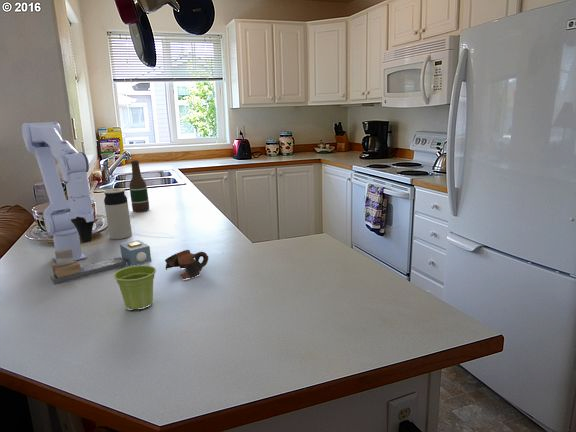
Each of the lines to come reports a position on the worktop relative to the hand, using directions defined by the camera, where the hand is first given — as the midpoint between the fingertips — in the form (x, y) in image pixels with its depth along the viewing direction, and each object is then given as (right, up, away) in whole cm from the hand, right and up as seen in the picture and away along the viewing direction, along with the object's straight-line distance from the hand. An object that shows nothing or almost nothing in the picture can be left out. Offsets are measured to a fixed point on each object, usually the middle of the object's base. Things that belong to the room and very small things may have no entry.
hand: (86, 241), depth 123 cm
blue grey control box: (+11, -7, +11) cm, 16 cm away
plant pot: (+23, -14, -21) cm, 34 cm away
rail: (0, -9, +2) cm, 9 cm away
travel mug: (-5, -1, +38) cm, 38 cm away
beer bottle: (-12, +10, +80) cm, 82 cm away
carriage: (-5, -9, -2) cm, 10 cm away
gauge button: (+11, -5, +10) cm, 15 cm away
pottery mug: (+30, -9, -3) cm, 32 cm away
